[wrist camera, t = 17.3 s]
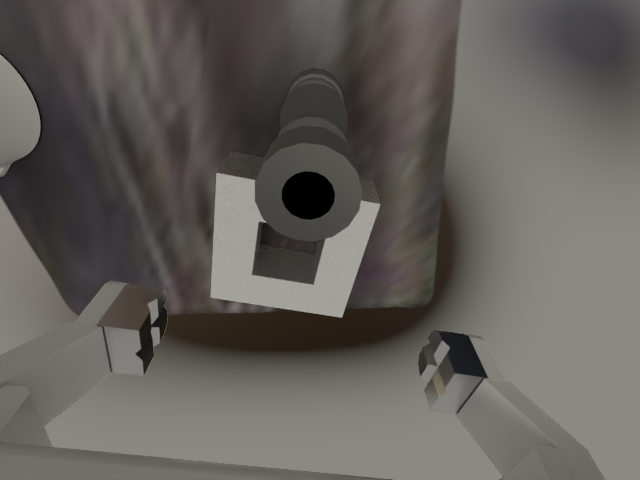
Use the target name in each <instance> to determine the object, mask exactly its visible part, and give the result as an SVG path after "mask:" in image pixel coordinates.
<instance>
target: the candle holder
mask: <svg viewBox="0 0 640 480" xmlns="http://www.w3.org/2000/svg"><path fill="white" fill-rule="evenodd" d="M347 122H348V115H347V111H346V107H345V103H344V98H343V94H342V90H341V86H340V84H339V83H338V81H337V80H336V79H335V77H334V76H333V75H331V74H330V73H328V72H326V71H325V70H321V69H310V70H307V71H304V72H302V73H300V74H299V75H298V76H297V77H296V78H295V79H294V80H293V82H292V84H291V87H290V89H289V91H288V93H287V96H286V100H285V102H284V104H283V106H282V108H281V111H280V126H281V128H282V129H281V130H280V132H279V134H278V136H277V138H276V140H275V141H274V142H272V143H271V145H270V147H269V149H268V151H267V154H266V156H265V158H264V160H263V162H262V165H261V167H260V170H259V172H258V175H257V177H256V180H255V202H256V205H257V207H258V209H259V211H260V214H261V216H262V218H263V219H264V220H265V221H266V222H267V223H268V224H269V225H270V226H271V227H272V228H273V229H274V230H275V231H276V232H278V233H280V234H282V235H285V236H287V237H289V238H291V239H294V240H301V241H313V242H314V241H318V240H322V239H326V238H330V237H333V236H335V235H336V234H338V233H339V232H341V231H342V230H344V229H345V228H347V227H348V226H349V225H350V223H351V222H352V220H353V219H354V217H355V216H356V215H357V213H358V212H359V209H360V203H361V198H362V192H363V191H362V187H361V183H360V178H359V174H358V170H357V166H356V162H355V158H354V154H353V151H352V150H351V149H350V147H349V146H348V143H347V139H346V136H345V135H344V134H345V132H346V129H347Z"/></svg>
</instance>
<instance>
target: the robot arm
mask: <svg viewBox="0 0 640 480" xmlns="http://www.w3.org/2000/svg"><path fill="white" fill-rule="evenodd" d="M40 127H41V126H40V116H39V112H38V108H37V105H36V102H35V100H34V98H33V96H32V94H31V92H30V90H29V88H28V86H27V85H26V83H25V82H24V80H23V79H22V77H21V76H20V75H19V73H18V72H17V71H16V70H15V69H14V68H13V66H12V65H11V64H10V63H9V62H8V61H7V60H6V59H5V58H4V57H3V56H1V55H0V177H2V176H4V175H5V174H6V173H7V171H8V169H9V168H10V165H11V164H12V163H13V162H14V161H16V160H18V159H20V158H22V157H24V156H26V155H28V154H29V153H30V152H31V151H32V150H33V149H34V147H35V146H36V144H37V142H38V139H39V136H40ZM166 301H167V293H166V291H165V290H164V289H158V288H152V287H146V286H141V285H135V284H127V283H121V282H115V281H109V282H107V283H106V284H104V286H103V287H102V288H101V289H100V291H99V292H98V293H97V294H96V296H95V297H94V298H93V299H92V301H91V302H90V303H89V304H88V306H87V307H86V308H85V309H84V311H83V312H82V313H81V314H80V316H79V317H78V318H77V319H76V321H75V322H74V323H70V322H68V323H65V324H63V325H61V326H59V327H57V328H55V329H53V330H51V331H49V332H47V333H45V334H43V335H41V336H39V337H37V338H35V339H33V340H30V341H28V342H26V343H24V344H22V345H20V346H18V347H16V348H14V349H12V350H10V351H8V352H6V353H4V354H2V355H0V480H392V479H381V478H372V477H361V476H351V475H340V474H329V473H319V472H308V471H298V470H288V469H277V468H267V467H256V466H246V465H235V464H224V463H214V462H204V461H193V460H183V459H172V458H162V457H151V456H141V455H130V454H119V453H110V452H99V451H88V450H78V449H67V448H57V447H53V446H52V443H51V441H50V438H49V436H48V433H47V431H46V429H45V425H47V424H48V423H49V422H51V421H52V420H53V419H54V418H56V417H57V416H58V415H59V414H61V413H62V412H63V411H65V410H66V409H67V408H69V407H70V406H71V405H72V404H74V403H75V402H76V401H78V400H79V399H80V398H81V397H83V396H84V395H85V394H87V393H88V392H89V391H91V390H92V389H93V388H94V387H96V386H97V385H98V384H99V383H101V382H102V381H103V380H105V379H106V378H107V377H109V376H110V375H111V373H119V374H130V375H141V376H144V375H145V373H146V371H147V369H148V366H149V364H150V362H151V360H152V358H153V356H154V350H153V347H154V346H156V345H157V344H159V343H160V342H161V340H162V337H163V335H164V332H165V329H166V325H167V319H168V311H167V309H166V308H165V307H164V305H165V303H166ZM428 339H429V341H430V343H429V344H428V345H426V346H424V347H423V348H422V350H421V352H420V354H419V361H418V367H419V373H420V376H421V378H422V379H423V380H424V381H425V382H426V383H427V386H426V388H425V390H424V391H425V394H426V398H427V401H428V405H429V408H430V410H431V411H438V412H444V413H451V414H457V415H456V416H457V417H458V419H459V420H460V421H461V423H462V424H463V425H464V427H465V428H466V429H467V430H468V432H469V433H470V434H471V436H472V437H473V438H474V439H475V441H476V442H477V443H478V445H479V446H480V447H481V449H482V450H483V451H484V452H485V454H486V455H487V456H488V458H489V459H490V460H491V462H492V463H493V464H494V465H495V467H496V468H497V469H498V471H499V472H500V473H501V474H502V476H503V477H502V478H501V479H499V480H605V478H604V477H603V475H602V473H601V472H600V470H599V468H598V467H597V465H596V463H595V462H594V460H593V458H592V457H591V455H590V454H589V452H588V450H587V449H586V448H585V447H584V446H583V445H582V444H580V443H579V442H578V441H577V440H576V439H575V438H574V437H572V436H571V435H570V434H569V433H568V432H567V431H565V430H564V429H563V428H562V427H561V426H560V425H559V424H558V423H556V422H555V421H554V420H553V419H552V418H551V417H550V416H549V415H547V414H546V413H545V412H544V411H543V410H542V409H541V408H539V407H538V406H537V405H536V404H535V403H534V402H533V401H531V400H530V399H529V398H528V397H527V396H526V395H525V394H524V393H522V392H521V391H520V390H519V389H518V388H517V387H516V386H515V385H513V384H512V383H511V382H508V381H505V379H504V377H503V375H502V373H501V371H500V369H499V367H498V365H497V363H496V361H495V359H494V357H493V355H492V353H491V351H490V349H489V347H488V345H487V344H486V342H485V340H484V339H483V338H482V337H481V336H477V335H470V334H462V333H454V332H448V331H440V330H434V331H432V332H431V334H430V336H429V337H428Z"/></svg>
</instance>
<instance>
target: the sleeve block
mask: <svg viewBox="0 0 640 480" xmlns="http://www.w3.org/2000/svg"><path fill="white" fill-rule="evenodd" d="M264 158H265V157H260V156H254V155H249V154H244V153H239V152H234V151H231V152H230V153H229V155H228V156H227V158H226V159H225V161H224V162H223V164H222V165H221V167H220V168H219V170H218V171H217V174H216V195H215V216H214V237H213V258H212V279H211V298H217V299H224V300H230V301H237V302H243V303H250V304H256V305H263V306H269V307H276V308H282V309H289V310H296V311H302V312H309V313H315V314H322V315H328V316H335V317H342V316H343V313H344V310H345V307H346V304H347V301H348V298H349V295H350V292H351V289H352V286H353V284H354V281H355V278H356V275H357V272H358V269H359V266H360V263H361V260H362V257H363V254H364V251H365V248H366V245H367V242H368V239H369V236H370V233H371V231H372V228H373V225H374V222H375V219H376V216H377V213H378V210H379V207H380V201H379V198H378V195H377V191H376V188H375V185H374V182H373V179H370V178H365V177H360V176H359V178H360V183H361V187H362V191H363V192H362V198H361V203H360V209H359V212H358V213H357V215H356V216H355V217H354V219H353V220H352V222H351V223H350V225H349V226H348V227H347V228H345V229H344V230H342V231H341V232H339V233H338V234H336V235H335V236H333V237H330V238H326V239H322V240H318V241H317V246H316V250H315V254H314V253H308V252H302V251H297V250H291V249H285V248H279V247H273V246H267V245H262V244H260V241H261V234H262V226H263V222H265V223H267V222H266V221H265V220H264V219H263V218H262V216H261V214H260V211H259V209H258V207H257V205H256V202H255V180H256V177H257V175H258V172H259V170H260V167H261V165H262V162H263V160H264Z"/></svg>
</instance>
